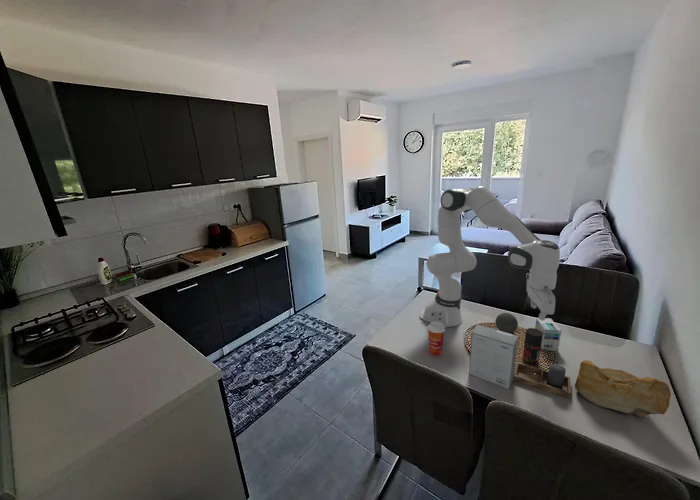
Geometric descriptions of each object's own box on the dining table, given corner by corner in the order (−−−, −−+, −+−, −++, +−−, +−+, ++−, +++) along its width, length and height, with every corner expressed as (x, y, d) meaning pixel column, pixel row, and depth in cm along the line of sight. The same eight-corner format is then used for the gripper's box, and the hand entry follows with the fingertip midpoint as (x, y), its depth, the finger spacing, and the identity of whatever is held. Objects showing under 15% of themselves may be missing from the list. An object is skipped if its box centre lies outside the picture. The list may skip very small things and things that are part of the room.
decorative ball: (498, 324, 155) (500, 307, 152) (519, 330, 148) (521, 313, 145) (491, 332, 149) (493, 314, 146) (512, 339, 142) (515, 321, 139)
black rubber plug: (546, 387, 112) (549, 370, 109) (546, 379, 116) (549, 362, 113) (562, 392, 109) (565, 374, 107) (562, 383, 113) (565, 366, 111)
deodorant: (524, 355, 130) (528, 326, 126) (539, 361, 126) (544, 331, 122) (520, 362, 126) (524, 332, 122) (535, 368, 122) (540, 337, 118)
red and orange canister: (423, 352, 136) (424, 326, 132) (431, 344, 142) (432, 319, 137) (439, 359, 131) (440, 332, 127) (447, 351, 136) (448, 324, 132)
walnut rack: (513, 381, 116) (513, 375, 115) (515, 367, 124) (516, 361, 123) (569, 400, 106) (570, 393, 105) (568, 383, 114) (570, 377, 113)
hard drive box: (514, 379, 118) (519, 336, 112) (509, 390, 112) (514, 346, 106) (474, 363, 127) (477, 323, 121) (467, 373, 122) (471, 332, 116)
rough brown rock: (662, 406, 103) (671, 368, 99) (663, 434, 91) (674, 392, 88) (579, 376, 119) (585, 343, 116) (571, 398, 107) (577, 361, 104)
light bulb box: (558, 351, 132) (562, 330, 129) (541, 350, 133) (545, 329, 130) (548, 337, 142) (551, 317, 139) (532, 336, 143) (535, 317, 140)
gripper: (562, 293, 105) (556, 327, 109) (541, 272, 124) (537, 302, 128) (542, 292, 106) (537, 326, 110) (525, 272, 125) (521, 301, 129)
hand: (537, 313), depth 119 cm, fingers open, 8 cm apart
